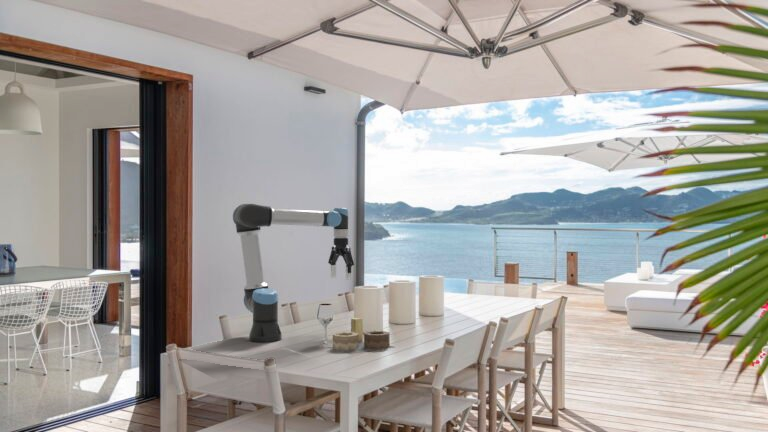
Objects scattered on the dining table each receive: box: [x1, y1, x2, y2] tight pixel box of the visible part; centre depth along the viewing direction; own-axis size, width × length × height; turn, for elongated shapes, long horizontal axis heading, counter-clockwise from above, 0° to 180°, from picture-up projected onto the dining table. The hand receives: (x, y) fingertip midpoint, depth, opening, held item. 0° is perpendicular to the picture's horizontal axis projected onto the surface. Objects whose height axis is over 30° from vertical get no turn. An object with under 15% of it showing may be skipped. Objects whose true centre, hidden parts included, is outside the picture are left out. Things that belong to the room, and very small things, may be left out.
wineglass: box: [316, 303, 336, 344], centre depth 304 cm, size 8×8×18 cm
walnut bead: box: [363, 330, 391, 350], centre depth 293 cm, size 11×11×6 cm
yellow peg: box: [350, 317, 364, 343], centre depth 306 cm, size 4×4×11 cm
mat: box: [327, 341, 395, 355], centre depth 292 cm, size 24×18×1 cm
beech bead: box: [332, 331, 360, 351], centre depth 291 cm, size 11×11×6 cm
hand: (340, 278), depth 346 cm, fingers open, 13 cm apart
